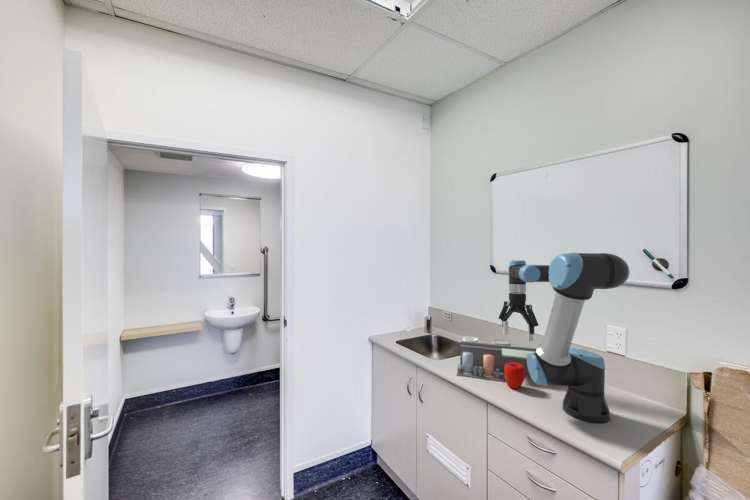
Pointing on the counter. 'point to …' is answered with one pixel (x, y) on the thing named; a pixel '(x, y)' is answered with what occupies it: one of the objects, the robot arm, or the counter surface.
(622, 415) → the counter surface
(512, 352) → the lid
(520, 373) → the apple
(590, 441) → the counter surface
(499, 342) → the disposable coffee cup
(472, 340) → the cup
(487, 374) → the peg
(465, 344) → the housing
